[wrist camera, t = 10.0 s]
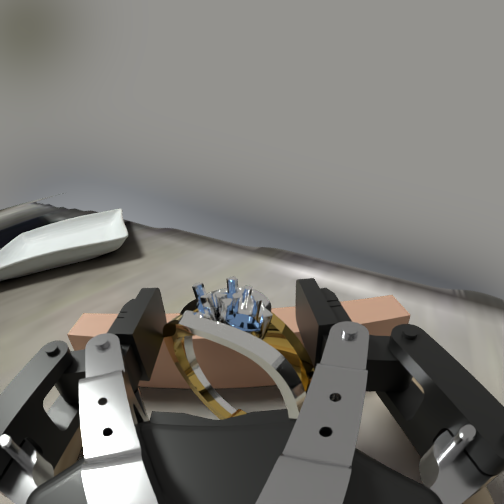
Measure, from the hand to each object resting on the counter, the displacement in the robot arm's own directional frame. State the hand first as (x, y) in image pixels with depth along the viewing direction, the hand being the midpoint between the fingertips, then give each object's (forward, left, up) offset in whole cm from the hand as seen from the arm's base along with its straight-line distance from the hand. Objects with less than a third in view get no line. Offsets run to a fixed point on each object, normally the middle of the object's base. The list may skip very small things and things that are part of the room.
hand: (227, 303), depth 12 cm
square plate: (+33, -31, -7) cm, 46 cm away
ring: (0, +2, -6) cm, 7 cm away
